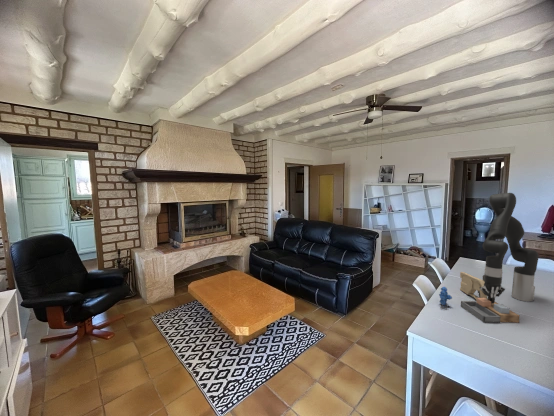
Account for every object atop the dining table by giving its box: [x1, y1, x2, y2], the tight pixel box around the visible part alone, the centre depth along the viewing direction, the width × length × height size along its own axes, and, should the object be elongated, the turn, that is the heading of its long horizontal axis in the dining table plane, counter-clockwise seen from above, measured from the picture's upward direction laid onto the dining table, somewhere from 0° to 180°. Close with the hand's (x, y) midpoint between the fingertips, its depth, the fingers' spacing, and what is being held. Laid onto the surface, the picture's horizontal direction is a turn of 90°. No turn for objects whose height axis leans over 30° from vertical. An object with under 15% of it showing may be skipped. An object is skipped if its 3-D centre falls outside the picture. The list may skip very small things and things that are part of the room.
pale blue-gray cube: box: [494, 303, 511, 314], centre depth 128 cm, size 4×4×3 cm
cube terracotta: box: [476, 298, 491, 307], centre depth 136 cm, size 4×4×3 cm
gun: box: [459, 271, 488, 302], centre depth 152 cm, size 24×3×15 cm, turn 169°
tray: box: [460, 300, 501, 324], centre depth 133 cm, size 8×17×4 cm, turn 177°
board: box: [485, 301, 520, 323], centre depth 132 cm, size 10×15×4 cm, turn 177°
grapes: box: [438, 286, 453, 306], centre depth 142 cm, size 12×7×12 cm, turn 140°
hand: (491, 302), depth 135 cm, fingers closed
